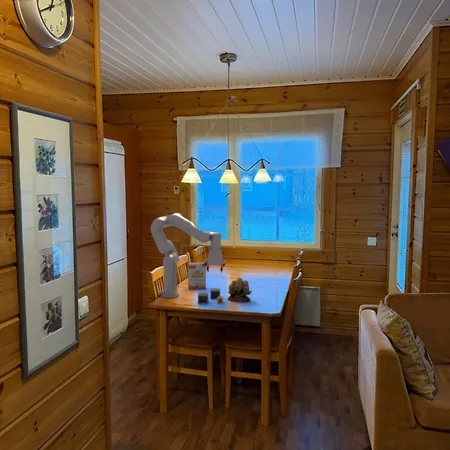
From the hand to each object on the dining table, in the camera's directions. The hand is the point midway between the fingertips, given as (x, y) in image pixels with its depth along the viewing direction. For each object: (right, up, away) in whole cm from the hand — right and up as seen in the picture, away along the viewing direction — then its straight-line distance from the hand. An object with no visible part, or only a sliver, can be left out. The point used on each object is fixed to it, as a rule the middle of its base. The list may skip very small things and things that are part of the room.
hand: (214, 271), depth 303 cm
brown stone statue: (+18, -20, -4) cm, 28 cm away
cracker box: (-15, -17, +28) cm, 36 cm away
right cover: (+1, -19, +2) cm, 19 cm away
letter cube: (+4, -21, -12) cm, 24 cm away
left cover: (-8, -20, -11) cm, 24 cm away
